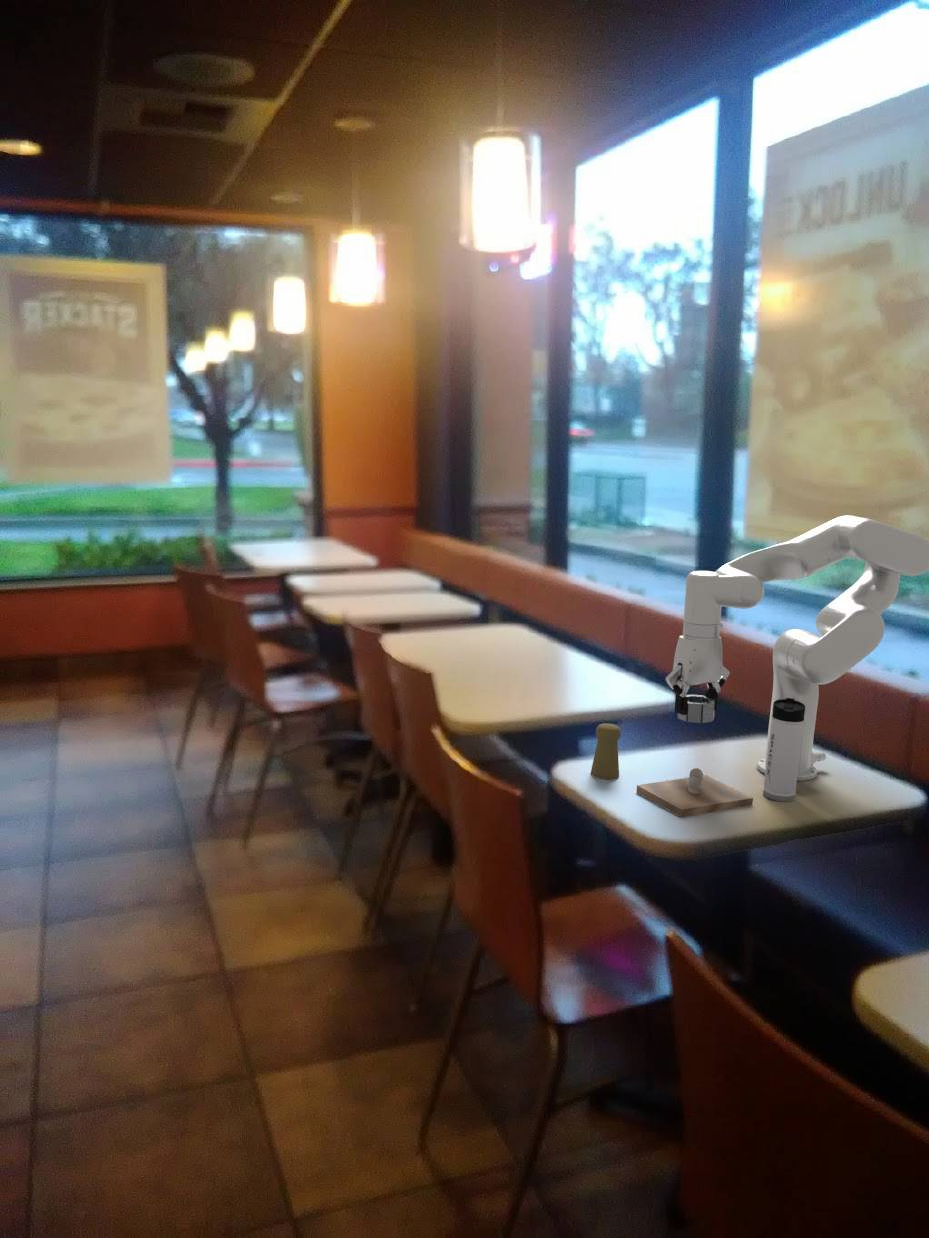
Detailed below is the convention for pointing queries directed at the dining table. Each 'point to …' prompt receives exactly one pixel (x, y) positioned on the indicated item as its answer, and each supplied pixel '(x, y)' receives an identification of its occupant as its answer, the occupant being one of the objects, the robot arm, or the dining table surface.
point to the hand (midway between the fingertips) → (695, 710)
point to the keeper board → (694, 795)
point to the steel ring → (699, 709)
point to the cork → (606, 752)
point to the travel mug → (784, 750)
